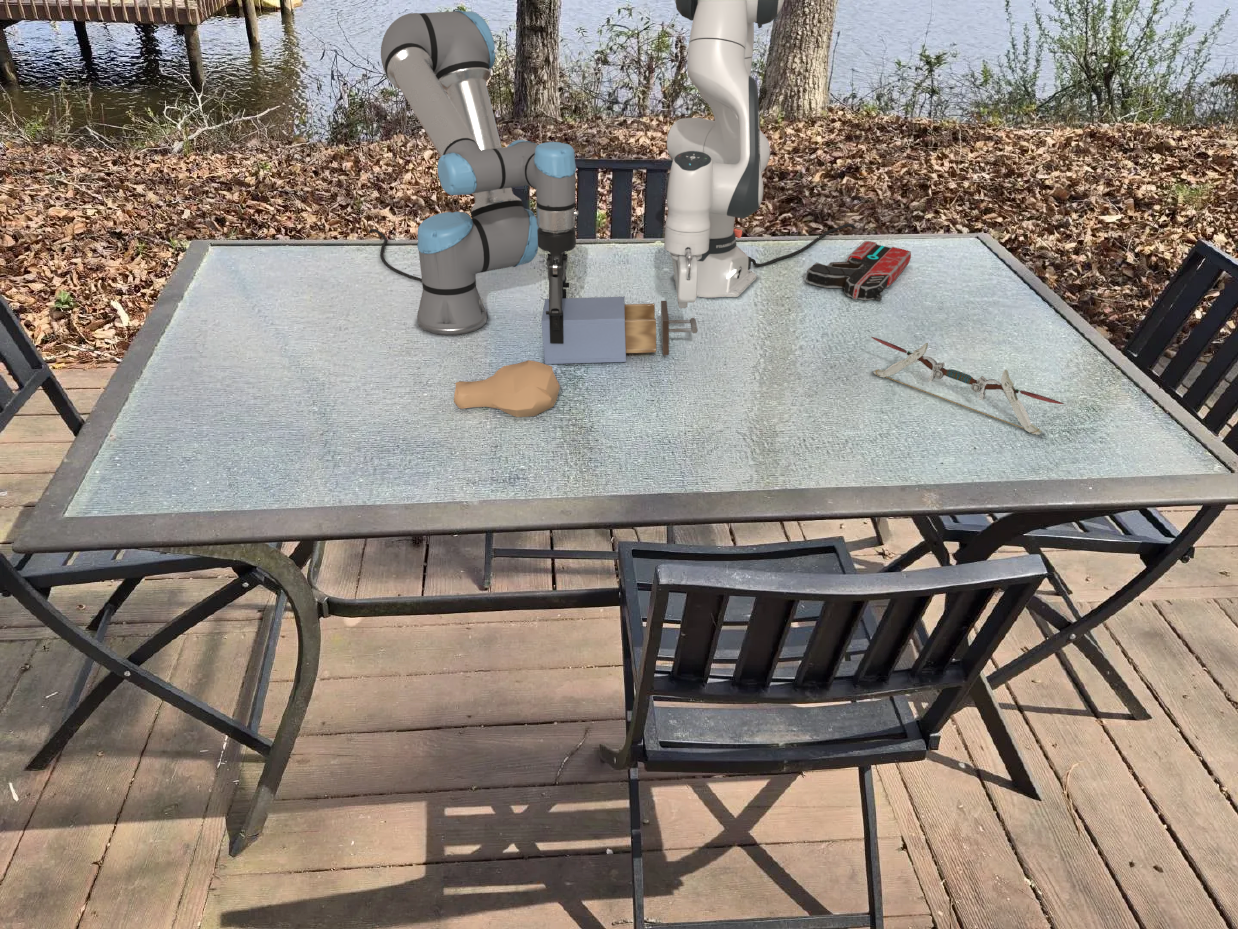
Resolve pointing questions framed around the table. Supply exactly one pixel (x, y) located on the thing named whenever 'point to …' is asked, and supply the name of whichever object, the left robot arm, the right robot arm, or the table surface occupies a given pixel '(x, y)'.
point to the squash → (512, 390)
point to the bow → (976, 386)
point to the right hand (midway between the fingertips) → (682, 305)
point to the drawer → (649, 328)
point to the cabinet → (587, 331)
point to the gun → (862, 271)
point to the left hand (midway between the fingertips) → (558, 330)
